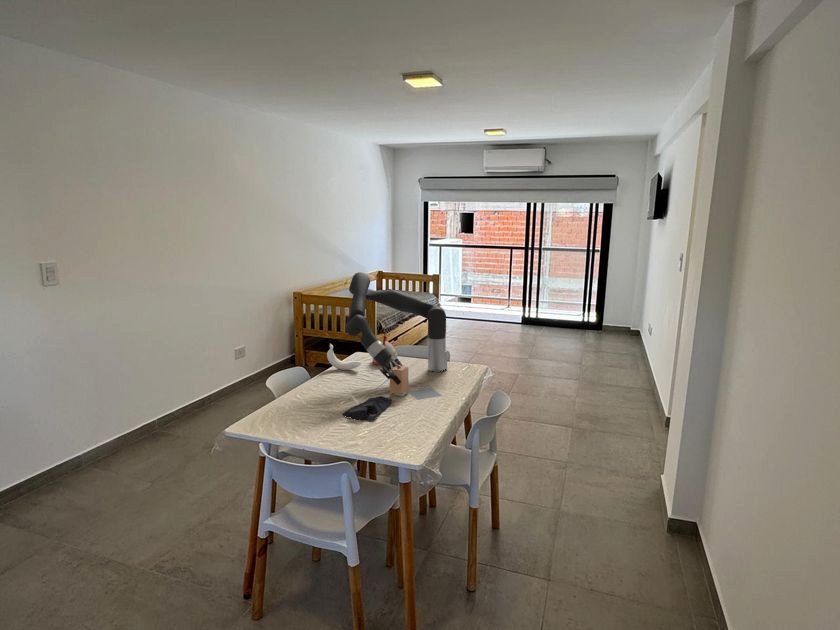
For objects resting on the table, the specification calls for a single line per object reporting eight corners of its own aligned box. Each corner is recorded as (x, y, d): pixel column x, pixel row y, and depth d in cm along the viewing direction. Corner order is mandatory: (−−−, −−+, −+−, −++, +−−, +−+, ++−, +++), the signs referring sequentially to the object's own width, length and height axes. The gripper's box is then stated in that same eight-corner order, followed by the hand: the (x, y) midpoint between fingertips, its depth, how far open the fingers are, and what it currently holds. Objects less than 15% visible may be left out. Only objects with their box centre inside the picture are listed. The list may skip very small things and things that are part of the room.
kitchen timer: (399, 359, 280) (399, 333, 277) (396, 366, 266) (395, 339, 263) (375, 358, 281) (374, 332, 278) (370, 365, 267) (369, 338, 265)
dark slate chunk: (398, 405, 213) (398, 394, 212) (371, 424, 193) (370, 413, 193) (368, 399, 219) (367, 389, 219) (338, 417, 200) (338, 406, 199)
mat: (430, 388, 231) (430, 387, 231) (442, 396, 221) (442, 395, 220) (407, 392, 227) (407, 391, 227) (417, 401, 216) (417, 399, 216)
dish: (398, 392, 226) (398, 387, 226) (407, 394, 224) (406, 388, 224) (393, 396, 222) (393, 390, 222) (402, 397, 220) (402, 391, 220)
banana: (360, 372, 256) (359, 345, 253) (325, 370, 260) (324, 343, 257) (363, 369, 261) (362, 342, 258) (329, 367, 265) (328, 341, 262)
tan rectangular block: (396, 388, 227) (395, 362, 225) (408, 390, 225) (408, 364, 222) (390, 392, 222) (389, 366, 219) (402, 394, 219) (401, 367, 217)
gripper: (382, 353, 232) (405, 381, 229) (366, 362, 219) (390, 391, 217) (391, 343, 229) (415, 371, 226) (376, 351, 216) (400, 381, 213)
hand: (403, 381), depth 221 cm, fingers closed on tan rectangular block, 6 cm apart
